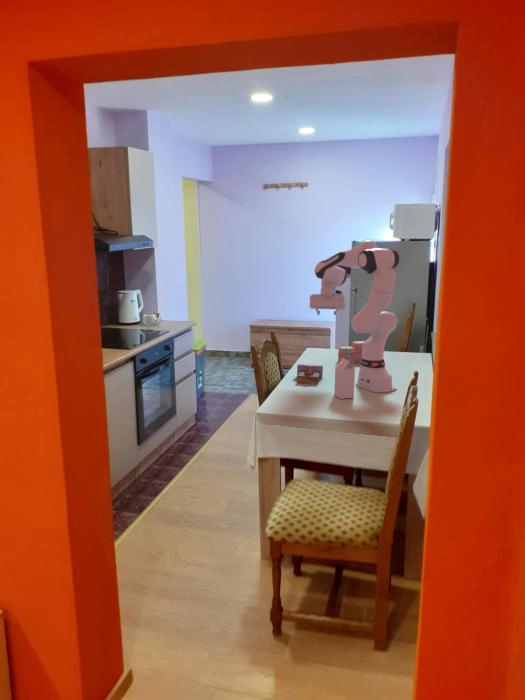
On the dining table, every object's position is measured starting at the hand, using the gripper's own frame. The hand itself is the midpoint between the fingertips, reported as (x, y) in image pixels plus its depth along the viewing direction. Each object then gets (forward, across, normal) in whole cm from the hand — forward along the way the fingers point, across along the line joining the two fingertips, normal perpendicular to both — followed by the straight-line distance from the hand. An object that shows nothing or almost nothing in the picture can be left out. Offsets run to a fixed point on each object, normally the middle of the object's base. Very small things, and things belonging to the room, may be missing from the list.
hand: (326, 314), depth 321 cm
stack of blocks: (+2, +18, +47) cm, 50 cm away
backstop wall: (+32, -8, +16) cm, 37 cm away
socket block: (+38, -8, +11) cm, 40 cm away
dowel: (+37, -8, +11) cm, 39 cm away
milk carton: (+56, +11, -7) cm, 57 cm away
